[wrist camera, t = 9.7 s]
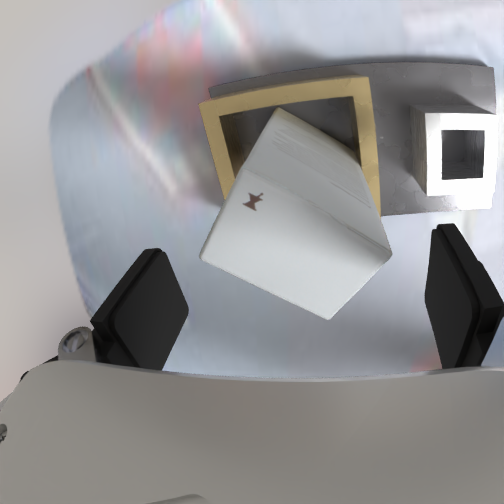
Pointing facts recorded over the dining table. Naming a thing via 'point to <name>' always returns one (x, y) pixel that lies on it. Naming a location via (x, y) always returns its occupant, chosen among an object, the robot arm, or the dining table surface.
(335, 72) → the plate
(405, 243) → the dining table surface
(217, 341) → the dining table surface
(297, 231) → the skincare box
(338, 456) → the robot arm
